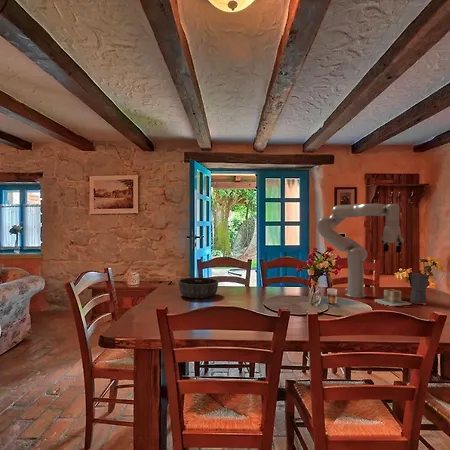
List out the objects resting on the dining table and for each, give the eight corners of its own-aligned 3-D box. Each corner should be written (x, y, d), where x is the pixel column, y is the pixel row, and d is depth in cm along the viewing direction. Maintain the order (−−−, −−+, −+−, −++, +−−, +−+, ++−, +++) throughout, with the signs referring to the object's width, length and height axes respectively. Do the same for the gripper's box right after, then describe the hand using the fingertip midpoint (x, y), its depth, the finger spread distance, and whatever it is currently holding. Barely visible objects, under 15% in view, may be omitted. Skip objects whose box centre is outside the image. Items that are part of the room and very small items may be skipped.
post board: (374, 301, 203) (374, 298, 203) (392, 300, 207) (392, 297, 207) (392, 307, 190) (392, 304, 190) (411, 305, 194) (411, 302, 194)
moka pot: (421, 306, 192) (422, 272, 192) (400, 300, 207) (401, 268, 206) (435, 305, 194) (435, 271, 194) (413, 299, 209) (413, 268, 209)
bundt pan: (225, 293, 222) (225, 278, 222) (206, 302, 198) (207, 285, 198) (191, 290, 233) (191, 276, 233) (169, 297, 209) (169, 282, 209)
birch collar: (383, 299, 201) (384, 289, 201) (392, 299, 203) (392, 289, 203) (392, 302, 194) (392, 292, 194) (401, 301, 196) (401, 291, 196)
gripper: (377, 223, 212) (376, 250, 213) (398, 224, 196) (398, 253, 196) (386, 224, 215) (386, 250, 215) (408, 224, 198) (408, 253, 198)
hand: (392, 251), depth 205 cm, fingers open, 9 cm apart
